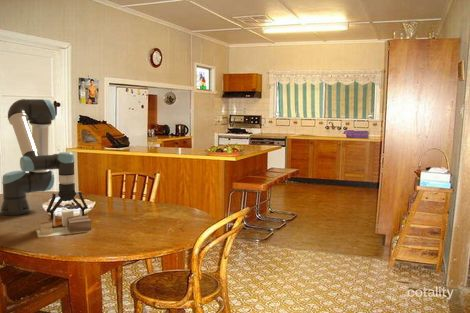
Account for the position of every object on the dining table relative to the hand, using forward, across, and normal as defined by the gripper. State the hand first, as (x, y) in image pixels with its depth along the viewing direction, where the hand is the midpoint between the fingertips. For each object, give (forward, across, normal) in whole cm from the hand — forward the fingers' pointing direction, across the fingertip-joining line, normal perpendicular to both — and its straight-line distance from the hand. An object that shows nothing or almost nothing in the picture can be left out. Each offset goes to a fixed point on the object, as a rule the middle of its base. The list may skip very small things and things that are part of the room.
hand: (67, 224), depth 220 cm
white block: (+1, 0, 0) cm, 1 cm away
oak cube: (0, -11, -10) cm, 15 cm away
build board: (+1, -3, -10) cm, 10 cm away
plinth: (0, +4, -10) cm, 11 cm away
